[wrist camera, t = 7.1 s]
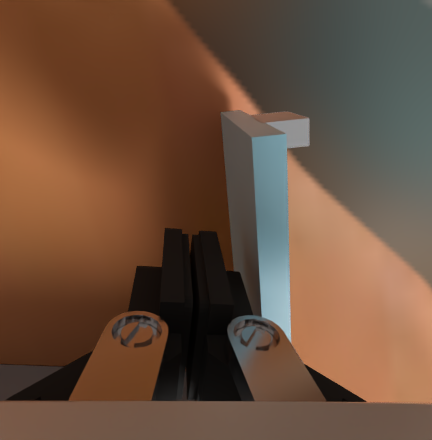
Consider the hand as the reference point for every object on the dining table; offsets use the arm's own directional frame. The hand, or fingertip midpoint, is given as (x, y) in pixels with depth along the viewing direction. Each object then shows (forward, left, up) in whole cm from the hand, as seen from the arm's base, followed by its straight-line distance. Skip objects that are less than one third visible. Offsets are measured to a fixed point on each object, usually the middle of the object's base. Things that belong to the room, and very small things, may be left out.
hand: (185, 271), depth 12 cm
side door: (-3, +2, -5) cm, 6 cm away
